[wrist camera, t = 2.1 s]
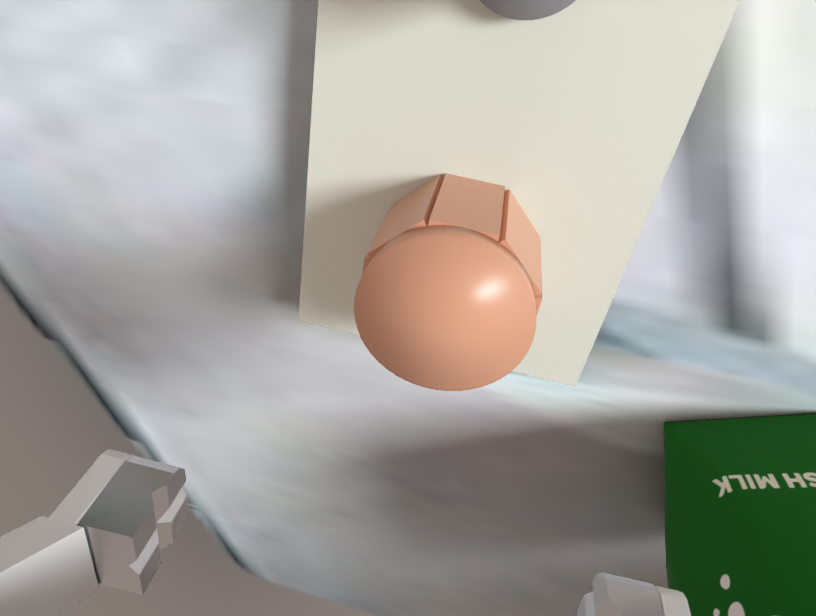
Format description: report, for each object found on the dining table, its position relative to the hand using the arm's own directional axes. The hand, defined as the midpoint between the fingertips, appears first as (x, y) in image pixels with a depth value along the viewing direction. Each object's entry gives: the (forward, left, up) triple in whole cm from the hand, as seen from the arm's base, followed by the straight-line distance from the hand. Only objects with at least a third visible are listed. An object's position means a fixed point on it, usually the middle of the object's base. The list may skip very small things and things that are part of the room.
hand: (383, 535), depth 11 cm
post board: (+3, -4, -15) cm, 15 cm away
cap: (0, 0, -13) cm, 13 cm away
